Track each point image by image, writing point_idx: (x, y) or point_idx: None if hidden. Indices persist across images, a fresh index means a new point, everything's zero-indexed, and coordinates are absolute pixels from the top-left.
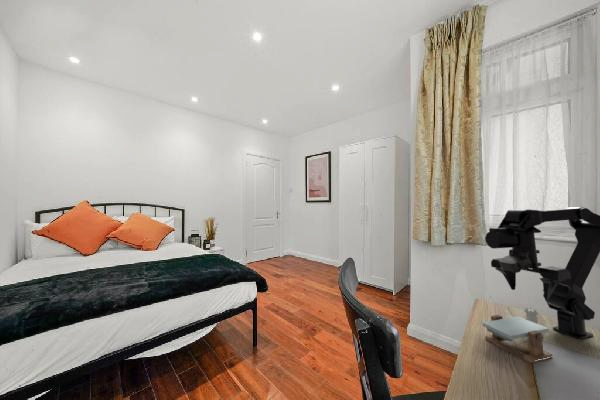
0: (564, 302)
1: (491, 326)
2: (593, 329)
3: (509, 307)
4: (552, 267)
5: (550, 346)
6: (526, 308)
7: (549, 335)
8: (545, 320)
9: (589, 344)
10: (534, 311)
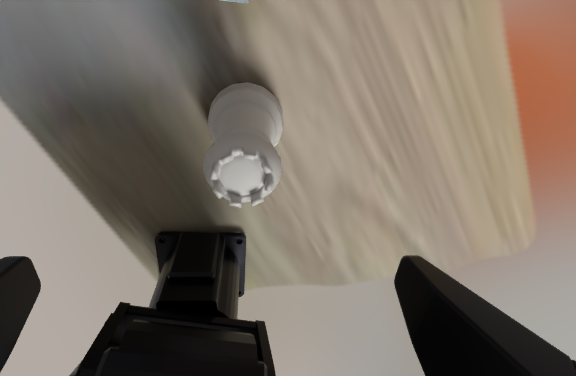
0: (110, 363)
1: None
2: None
3: None
4: None
5: (131, 50)
6: (262, 165)
7: None
8: (301, 280)
9: (121, 223)
10: (212, 169)
